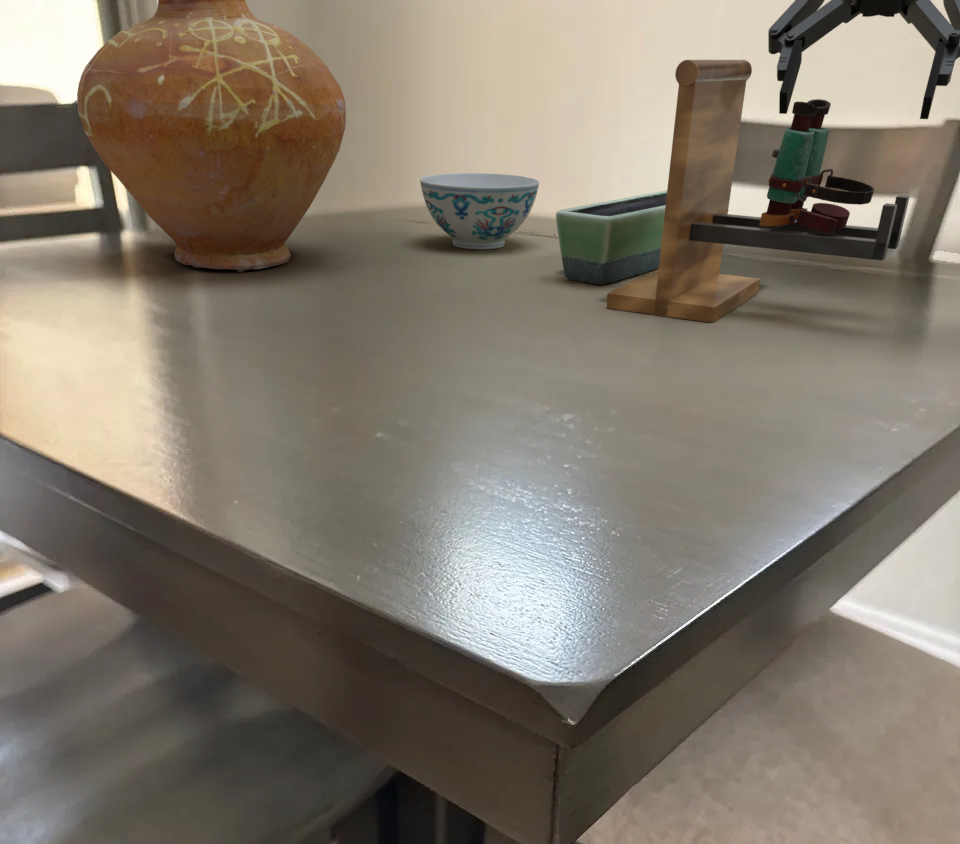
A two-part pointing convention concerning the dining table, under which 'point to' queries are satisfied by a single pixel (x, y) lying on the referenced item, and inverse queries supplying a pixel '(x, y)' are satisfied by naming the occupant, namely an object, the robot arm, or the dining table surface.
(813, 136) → the binoculars
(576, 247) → the planter
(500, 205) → the chinaware
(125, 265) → the dining table surface
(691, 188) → the hook rack
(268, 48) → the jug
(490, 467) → the dining table surface
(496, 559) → the dining table surface
